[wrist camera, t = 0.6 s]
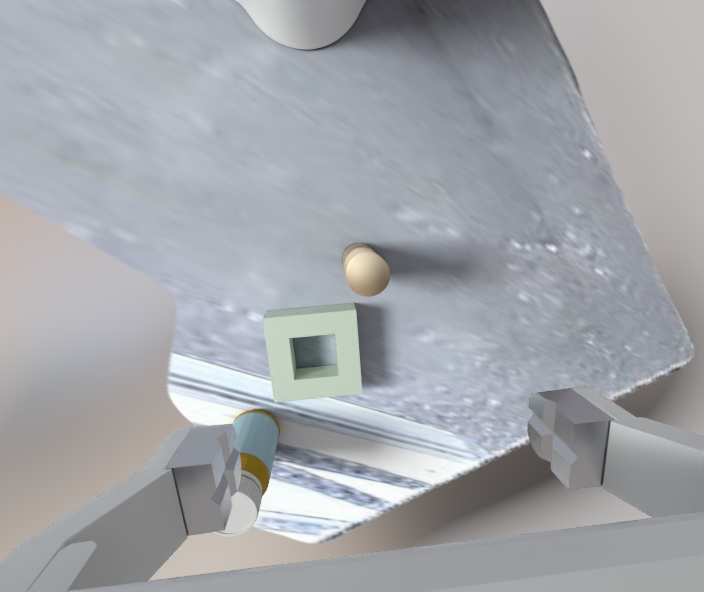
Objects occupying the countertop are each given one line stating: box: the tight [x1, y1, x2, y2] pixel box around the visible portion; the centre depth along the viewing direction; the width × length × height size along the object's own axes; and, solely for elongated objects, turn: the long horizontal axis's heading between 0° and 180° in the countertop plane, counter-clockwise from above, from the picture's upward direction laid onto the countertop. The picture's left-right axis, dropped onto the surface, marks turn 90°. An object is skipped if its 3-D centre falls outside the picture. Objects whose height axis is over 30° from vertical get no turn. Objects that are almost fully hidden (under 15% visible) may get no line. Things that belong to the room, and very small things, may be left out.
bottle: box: [212, 410, 279, 536], centre depth 44 cm, size 7×7×15 cm
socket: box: [262, 303, 362, 402], centre depth 48 cm, size 12×12×4 cm
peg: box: [342, 243, 390, 297], centre depth 41 cm, size 4×4×12 cm
